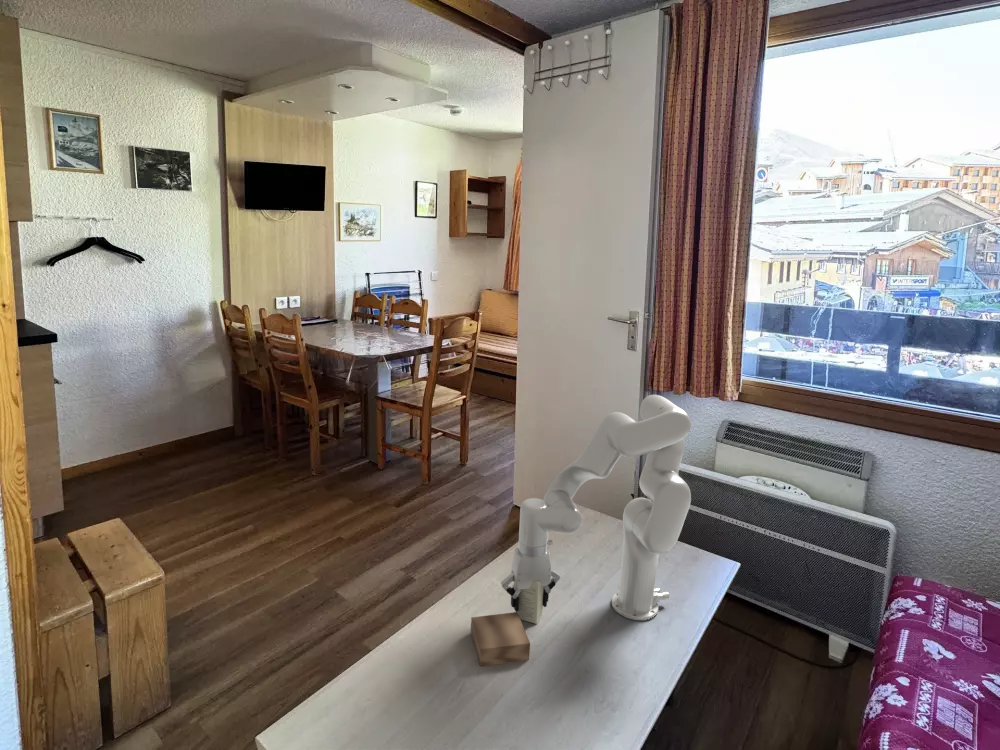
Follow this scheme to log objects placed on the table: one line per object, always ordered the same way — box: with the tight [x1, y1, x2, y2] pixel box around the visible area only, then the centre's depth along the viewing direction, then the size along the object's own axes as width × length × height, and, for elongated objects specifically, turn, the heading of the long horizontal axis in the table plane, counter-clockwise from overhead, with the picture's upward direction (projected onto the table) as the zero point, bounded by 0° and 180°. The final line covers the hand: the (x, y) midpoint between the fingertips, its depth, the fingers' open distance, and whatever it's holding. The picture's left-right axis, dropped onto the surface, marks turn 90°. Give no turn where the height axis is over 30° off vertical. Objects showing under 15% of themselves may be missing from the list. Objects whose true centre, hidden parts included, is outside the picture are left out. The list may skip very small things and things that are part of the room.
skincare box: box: [517, 580, 544, 625], centre depth 162 cm, size 6×4×12 cm
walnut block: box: [470, 611, 531, 667], centre depth 151 cm, size 12×12×5 cm
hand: (529, 605), depth 163 cm, fingers closed on skincare box, 7 cm apart
